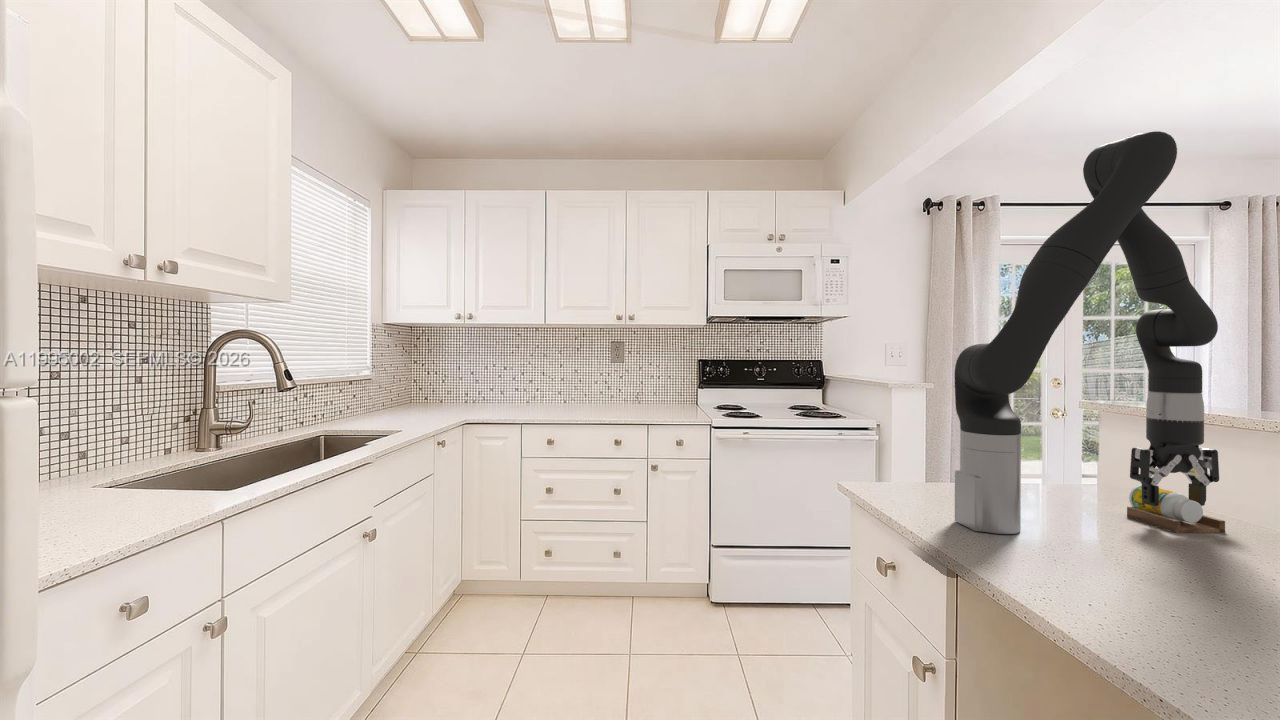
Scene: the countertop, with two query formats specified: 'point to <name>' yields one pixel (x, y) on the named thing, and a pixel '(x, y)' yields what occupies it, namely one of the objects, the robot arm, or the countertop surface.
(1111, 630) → the countertop surface
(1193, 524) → the cradle
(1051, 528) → the countertop surface
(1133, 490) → the supplement bottle
